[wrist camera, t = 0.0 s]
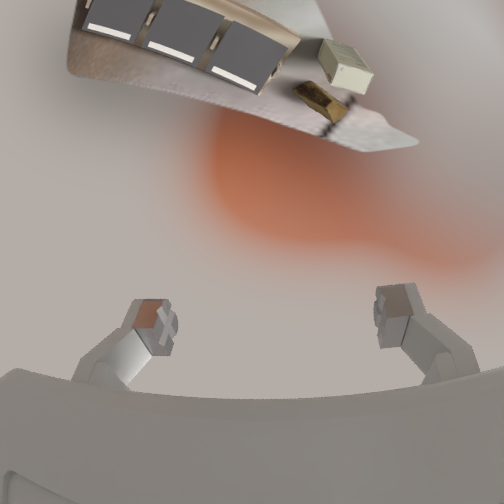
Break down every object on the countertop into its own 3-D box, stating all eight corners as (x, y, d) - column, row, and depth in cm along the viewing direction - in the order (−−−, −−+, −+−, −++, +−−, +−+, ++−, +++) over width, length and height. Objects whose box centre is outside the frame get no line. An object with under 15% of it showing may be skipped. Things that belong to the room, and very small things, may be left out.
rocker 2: (233, 20, 40) (233, 20, 40) (287, 47, 44) (288, 48, 44) (204, 69, 46) (204, 71, 46) (256, 93, 50) (257, 95, 50)
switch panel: (114, -39, 31) (98, -35, 28) (299, 34, 46) (303, 46, 42) (90, 25, 42) (74, 36, 38) (258, 88, 56) (258, 105, 52)
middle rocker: (168, -6, 36) (167, -6, 35) (225, 16, 40) (225, 16, 39) (142, 45, 42) (141, 47, 41) (196, 66, 46) (196, 67, 45)
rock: (363, 111, 56) (346, 75, 49) (348, 143, 56) (328, 107, 48) (319, 107, 63) (298, 74, 56) (303, 136, 63) (279, 104, 55)
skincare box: (316, 57, 49) (327, 85, 43) (323, 37, 46) (336, 61, 39) (348, 66, 50) (364, 96, 44) (356, 47, 47) (375, 74, 40)
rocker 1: (106, -23, 31) (104, -24, 30) (160, -9, 35) (158, -9, 34) (84, 28, 37) (81, 29, 36) (134, 43, 41) (133, 44, 40)
